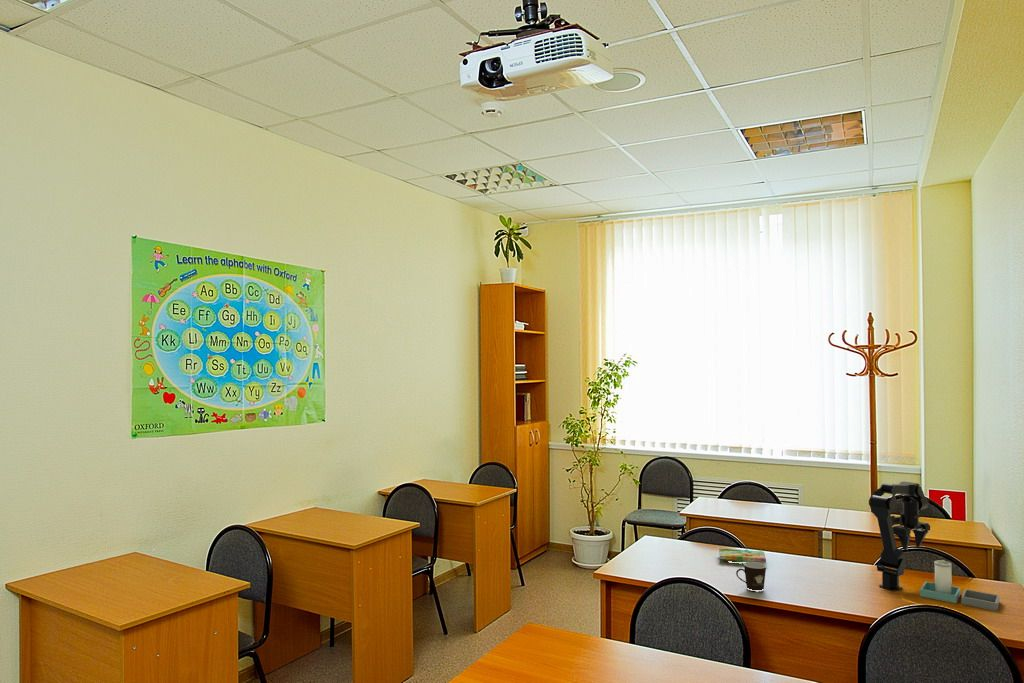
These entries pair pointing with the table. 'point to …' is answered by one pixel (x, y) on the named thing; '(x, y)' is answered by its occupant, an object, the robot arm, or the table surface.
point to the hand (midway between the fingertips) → (911, 548)
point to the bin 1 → (929, 592)
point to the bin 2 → (980, 599)
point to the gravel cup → (943, 577)
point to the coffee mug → (754, 575)
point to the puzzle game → (742, 555)
